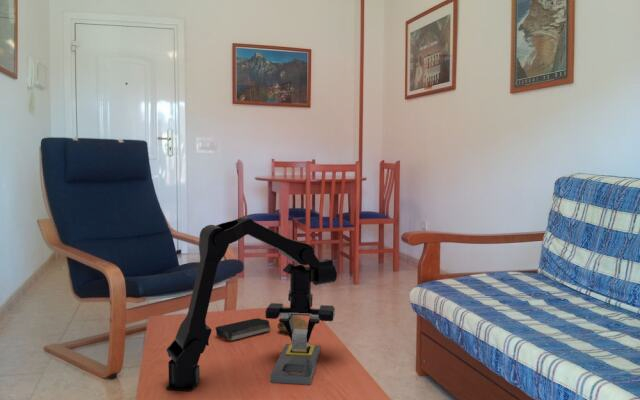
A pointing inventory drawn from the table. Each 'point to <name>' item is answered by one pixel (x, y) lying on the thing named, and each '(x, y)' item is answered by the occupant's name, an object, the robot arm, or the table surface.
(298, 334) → the grey metal block
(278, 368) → the grey board with holes
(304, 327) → the stone
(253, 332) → the black sponge
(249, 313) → the table surface
